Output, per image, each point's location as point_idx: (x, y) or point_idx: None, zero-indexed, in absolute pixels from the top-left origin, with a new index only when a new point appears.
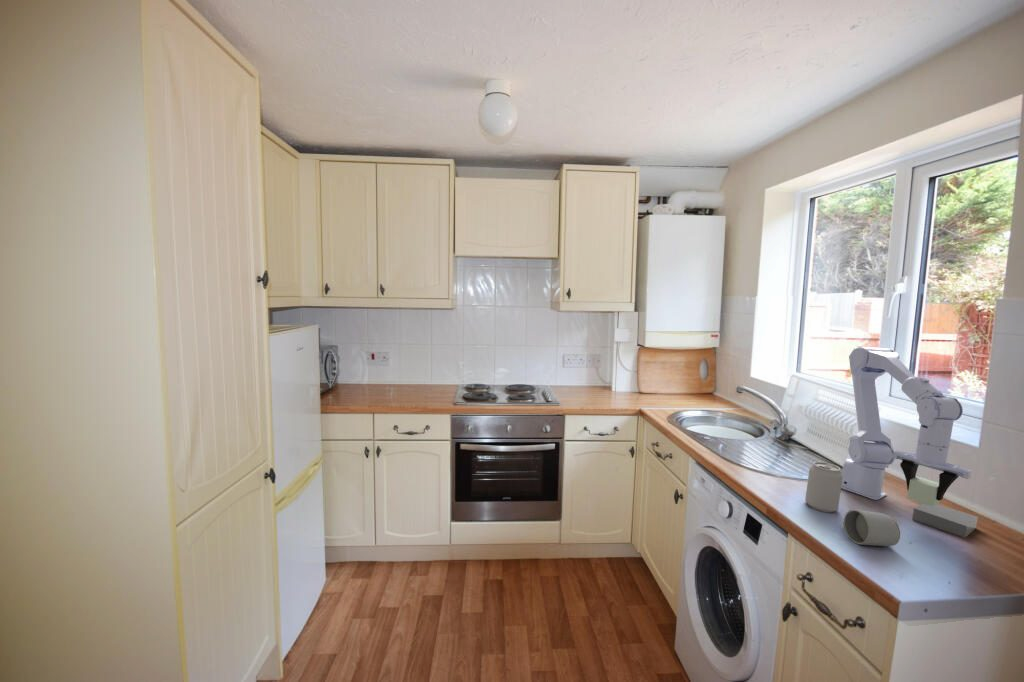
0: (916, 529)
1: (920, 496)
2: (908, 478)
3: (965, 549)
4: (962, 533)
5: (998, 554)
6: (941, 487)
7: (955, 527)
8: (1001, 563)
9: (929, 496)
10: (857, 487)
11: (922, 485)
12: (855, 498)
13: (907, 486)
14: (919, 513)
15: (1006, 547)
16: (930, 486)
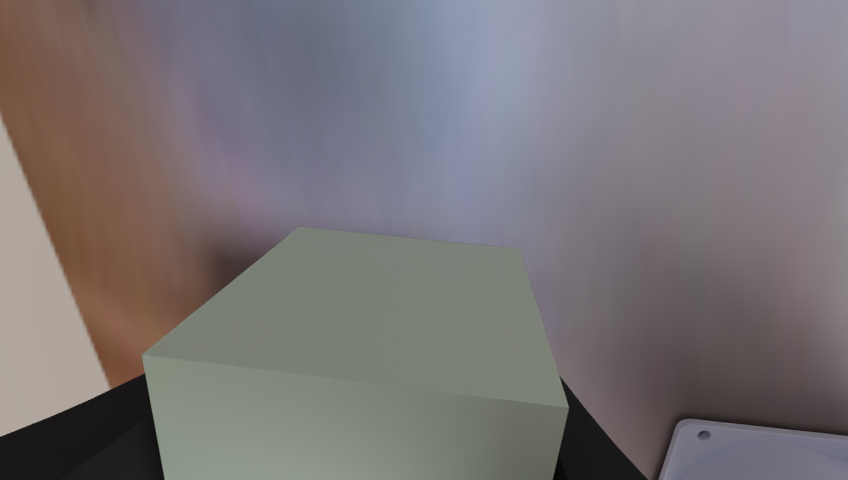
0: (421, 152)
1: (398, 265)
2: (603, 474)
3: (182, 104)
4: None
5: (94, 211)
6: (89, 419)
7: None
8: (36, 86)
9: (300, 269)
10: (829, 475)
11: (359, 352)
12: (798, 347)
13: (562, 380)
14: None
15: (119, 344)
16: (231, 355)
